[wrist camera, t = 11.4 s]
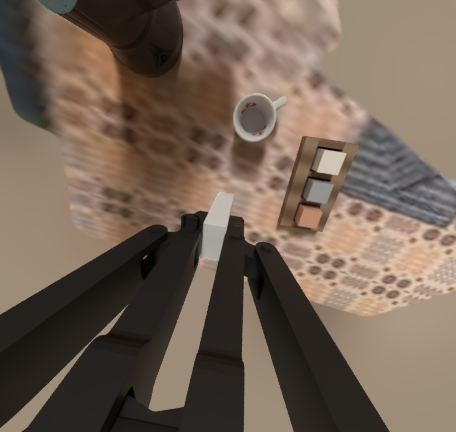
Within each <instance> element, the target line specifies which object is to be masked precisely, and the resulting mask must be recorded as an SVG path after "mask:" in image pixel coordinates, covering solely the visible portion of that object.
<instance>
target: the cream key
mask: <svg viewBox="0 0 456 432" xmlns="http://www.w3.org/2000/svg"><path fill="white" fill-rule="evenodd" d="M346 154H347V153H342V152H338V151H331V150H325V149H318V148H317V149H316V152H315V155H314V158H313V161H312V164H311V167H310V168H311V169H312V170H314V171H316V172H320V173H326V174H332V175H338V174H339V171H340V169H341V166H342V164H343V161H344V159H345V156H346Z"/></svg>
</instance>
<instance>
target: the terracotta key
mask: <svg viewBox="0 0 456 432" xmlns="http://www.w3.org/2000/svg"><path fill="white" fill-rule="evenodd" d="M322 213H323V212H322V211H321V210H320V209H319V208H318V207H317V206H316V205H312V204H306V203H300V202H299V203H298V206H297V209H296V212H295V215H294V219H295V221H296V223H297V225H298V226H303V227H309V228H315V229H316V228H317V225H318V223H319V220H320V218H321V216H322Z"/></svg>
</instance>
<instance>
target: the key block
mask: <svg viewBox="0 0 456 432" xmlns="http://www.w3.org/2000/svg"><path fill="white" fill-rule="evenodd" d="M317 146H321V147H328V148H334V149H336V151H338V152H342V153H347V154H346V156H345V159H344V161H343V164H342V166H341V169H340V171H339V174H338V175H332V174H326V173H320V172H316V171H314V170H310V167H311V164H312V161H313V158H314V155H315V152H316V149H317ZM358 147H359V144H354V143H347V142H341V141H334V140H327V139H321V138H314V137H308V136H303V137H302V140H301V144H300V147H299V151H298V154H297V157H296V161H295V164H294V168H293V171H292V175H291V178H290V181H289V185H288V188H287V192H286V195H285V199H284V202H283V205H282V209H281V212H280V216H279V219H278V220H279V223H280V225H284V226H290V227H296V228H302V229H308V230H314V231H320V232H322V231H323V229H324V226H325V224H326V222H327V219H328V217H329V214H330V212H331V210H332V207H333V205H334V203H335V200H336V198H337V196H338V193H339V191H340V189H341V186H342V184H343V182H344V179H345V177H346V175H347V172H348V170H349V168H350V165H351V163H352V161H353V158H354V156H355V154H356V151H357V149H358ZM307 176H310V177H317V178H323V179H325V180H326V181H328V182H330V183H331V184H333V185H334V186H333V188H332V191H331V193H330V196H329V198H328V201H327V203H326V204H324V203H317V202H311V201H306V199H305V198H304V197H303V196H302V195H301V194H302V191H303V188H304V185H305V182H306V179H307ZM299 202H300V203H307V204H313V205H316V206H317V207H318V208H319V209H320V210H321V211H322V212H323V213H322V216H321V218H320V220H319V223H318V225H317V228H316V229H315V228H309V227H303V226H298V225H297V223H296V221H295V219H294V215H295V212H296V209H297V206H298V203H299Z"/></svg>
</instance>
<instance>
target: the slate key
mask: <svg viewBox="0 0 456 432" xmlns="http://www.w3.org/2000/svg"><path fill="white" fill-rule="evenodd" d="M333 186H334V185H333V184H331V183H330V182H328V181H326V180H322V179H316V178H310V177H307V179H306V182H305V185H304V188H303V191H302V194H301V195H302V196H303V197H304V198H305V199H306V201H311V202H317V203H324V204H326V203H327V201H328V198H329V196H330V193H331V191H332V188H333Z"/></svg>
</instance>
